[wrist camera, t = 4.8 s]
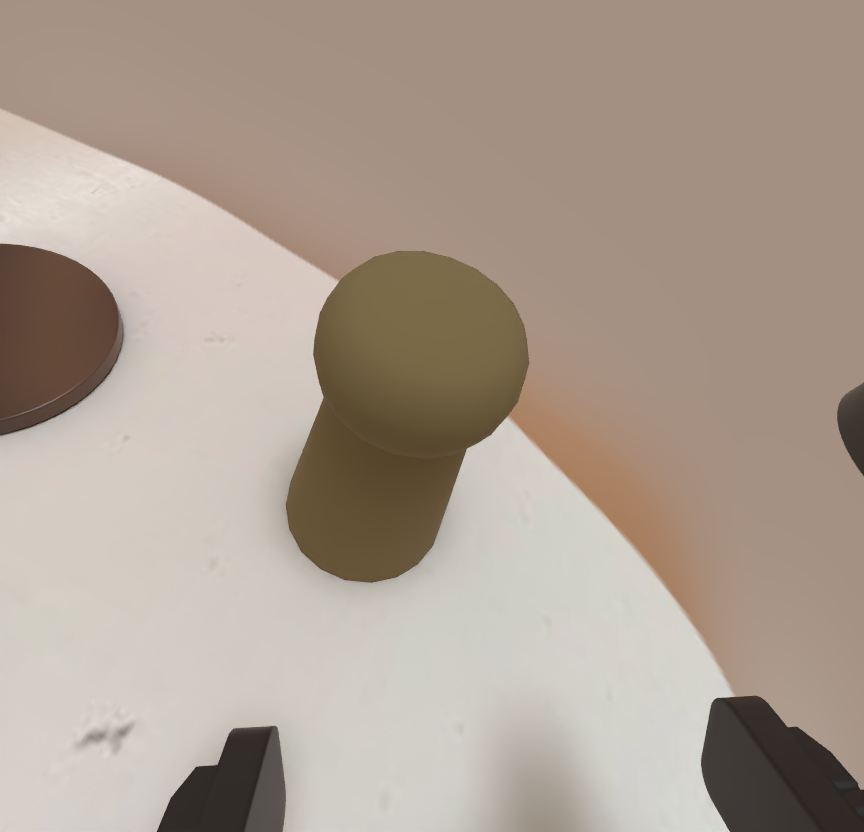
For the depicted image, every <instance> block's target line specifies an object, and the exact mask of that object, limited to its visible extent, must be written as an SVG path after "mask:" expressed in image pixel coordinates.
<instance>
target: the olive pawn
mask: <svg viewBox="0 0 864 832" xmlns="http://www.w3.org/2000/svg"><path fill="white" fill-rule="evenodd" d="M313 355H314V360H315V365H316V370H317V375H318V379H319V384H320V387H321V390H322V393H323V396H324V398H323V401H322V403H321V406H320V409H319V411H318V414H317V416H316V419H315V421H314V424H313V426H312V429H311V431H310V434H309V437H308V439H307V442H306V444H305V447H304V449H303V452H302V454H301V457H300V460H299V462H298V465H297V467H296V470H295V472H294V475H293V477H292V480H291V483H290V488H289V493H288V497H287V502H286V509H287V515H288V522H289V529H290V531H291V533H292V534H293V536H294V538H295V540H296V542H297V544H298V546H299V547H300V549H301V551H302V552H303V553H304V554H305V555H306V556H307V557H308V558H309V559H311V560H312V561H313V562H314V563H315V564H316V565H317V566H318V567H319V568H320V569H322V570H324V571H327V572H329V573H331V574H333V575H336V576H338V577H340V578H342V579H345V580H353V581H362V582H376V581H380V580H385V579H389V578H394V577H397V576H399V575H401V574H402V573H404V572H405V571H407V570H409V569H410V568H412V567H414V566H415V565H417V564H418V563H419V562H420V561H421V559H422V558H423V557H424V556H425V555H426V553H427V552H428V551H429V550H430V549H431V547H432V546H433V544H434V541H435V538H436V536H437V533H438V530H439V527H440V525H441V522H442V519H443V516H444V513H445V510H446V507H447V504H448V502H449V499H450V496H451V493H452V490H453V487H454V484H455V481H456V478H457V475H458V473H459V470H460V467H461V464H462V461H463V458H464V455H465V452H466V449H467V448H469V447H471V446H473V445H475V444H477V443H479V442H480V441H482V440H483V439H485V438H487V437H488V436H490V435H491V434H492V433H493V432H494V431H495V429H496V428H497V427H498V426H499V425H500V424H501V423H502V422H503V420H504V419H505V418H506V417H507V416H508V415H509V413H510V412H511V411H512V409H513V408H514V406H515V405H516V403H517V402H518V399H519V396H520V393H521V390H522V387H523V384H524V380H525V377H526V373H527V369H528V365H529V357H528V347H527V338H526V333H525V328H524V324H523V322H522V320H521V318H520V316H519V314H518V311H517V309H516V308H515V305H514V303H513V302H512V301H511V300H510V299H509V298H508V297H507V295H506V294H505V293H504V292H503V291H502V289H501V288H500V287H499V286H498V285H497V284H496V283H494V282H493V281H492V280H490V279H489V278H487V277H486V276H485V275H483V274H482V273H481V272H479V271H478V270H476V269H475V268H473V267H470V266H468V265H466V264H464V263H462V262H459V261H457V260H455V259H453V258H450V257H446V256H442V255H437V254H433V253H429V252H424V251H397V252H393V253H388V254H385V255H380V256H376V257H373V258H372V259H370V260H368V261H367V262H365V263H363V264H362V265H360V266H358V267H357V268H355V269H354V270H352V271H351V272H350V273H348V274H347V275H346V276H344V277H343V278H342V279H341V280H340V282H339V283H338V284H337V286H336V287H335V288H334V290H333V291H332V292H331V294H330V295H329V296H328V298H327V300H326V302H325V304H324V306H323V308H322V310H321V312H320V315H319V320H318V325H317V329H316V334H315V340H314V353H313Z"/></svg>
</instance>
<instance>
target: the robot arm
mask: <svg viewBox="0 0 864 832" xmlns="http://www.w3.org/2000/svg"><path fill="white" fill-rule="evenodd" d="M701 767H702V774H703V778H704V782H705V785H706V788H707V791H708V793H709V795H710V798H711V799H712V801H713V803H714V805H715V807H716V808H717V810H718V812H719V814H720V815H721V817H722V819H723V821H724V822H725V824H726V826H727V828H728V829H729V831H730V832H864V790H860V788H859V787H858V783H857V782H856V781H855V779H854V778H853V777H852V776H851V775H850V774H849V773H848V772H847V770H846V769H845V768H844V767H843V766H842V764H841V763H840V762H839V761H838V760H837V759H836V758H835V756H834V755H833V754H832V753H831V752H830V751H828V750H827V749H826V748H825V747H823V746H822V745H821V744H819V743H818V742H817V741H815V740H814V739H813V738H811V737H810V736H808V735H807V734H806V733H805V732H803V731H802V730H801V729H799V728H798V727H787V726H786V725H785V723H784V722H783V721H782V720H781V719H780V717H779V716H778V715H777V714H776V713H775V711H774V710H773V709H772V708H771V707H770V705H769V704H768V703H767V702H766V701H765V700H764V699H762V698H760V697H758V696H745V697H728V698H716V699H715V700H714V701H713V702H712V705H711V709H710V714H709V720H708V725H707V731H706V736H705V741H704V747H703V752H702V758H701ZM285 802H286V791H285V781H284V773H283V765H282V757H281V749H280V741H279V733H278V729H277V727H276V726H269V727H252V728H235V729H233V730H232V731H231V732H230V734H229V736H228V738H227V741H226V743H225V746H224V749H223V752H222V755H221V757H220V760H219V763H218V765H215V766H199V767H196V768H195V769H194V770H193V771H192V773H191V774H190V775H189V776H188V778H187V779H186V780H185V781H184V783H183V784H182V785H181V786H180V787H179V789H178V790H177V791H176V792H175V794H174V795H173V796H172V797H171V799H170V801H169V804H168V806H167V809H166V811H165V813H164V816H163V818H162V821H161V823H160V825H159V828H158V830H157V832H282V831H283V825H284V816H285Z"/></svg>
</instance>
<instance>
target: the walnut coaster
mask: <svg viewBox="0 0 864 832" xmlns="http://www.w3.org/2000/svg"><path fill="white" fill-rule="evenodd" d="M122 338H123V325H122V320H121V316H120V312H119V310H118V307H117V304H116V301H115V299H114V297H113V294H112V293H111V291H110V290H109V288H108V287H107V286H106V284H105V283H104V282H103V281H102V280H101V279H100V278H99V277H98V276H97V275H96V274H94V273H93V272H92V271H91V270H89V269H88V268H86V267H85V266H83V265H81V264H80V263H78V262H76V261H74V260H72V259H70V258H68V257H66V256H63V255H60V254H57V253H54V252H51V251H48V250H44V249H39V248H35V247H29V246H23V245H13V244H0V434H4V433H8V432H12V431H15V430H19V429H22V428H26V427H29V426H31V425H34V424H36V423H39V422H42V421H44V420H47V419H49V418H51V417H53V416H55V415H57V414H59V413H61V412H63V411H64V410H66V409H68V408H69V407H71V406H72V405H74V404H76V403H77V402H79V401H80V400H81V399H82V398H84V397H85V396H86V395H88V394H89V393H90V392H91V391H92V390H93V389H94V388H95V387H96V386H97V385H98V384H99V383H100V382H101V381H102V380H103V379H104V378H105V376H106V375H107V374H108V372H109V371H110V370H111V368H112V366H113V364H114V363H115V361H116V359H117V356H118V354H119V351H120V348H121V344H122Z"/></svg>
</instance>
